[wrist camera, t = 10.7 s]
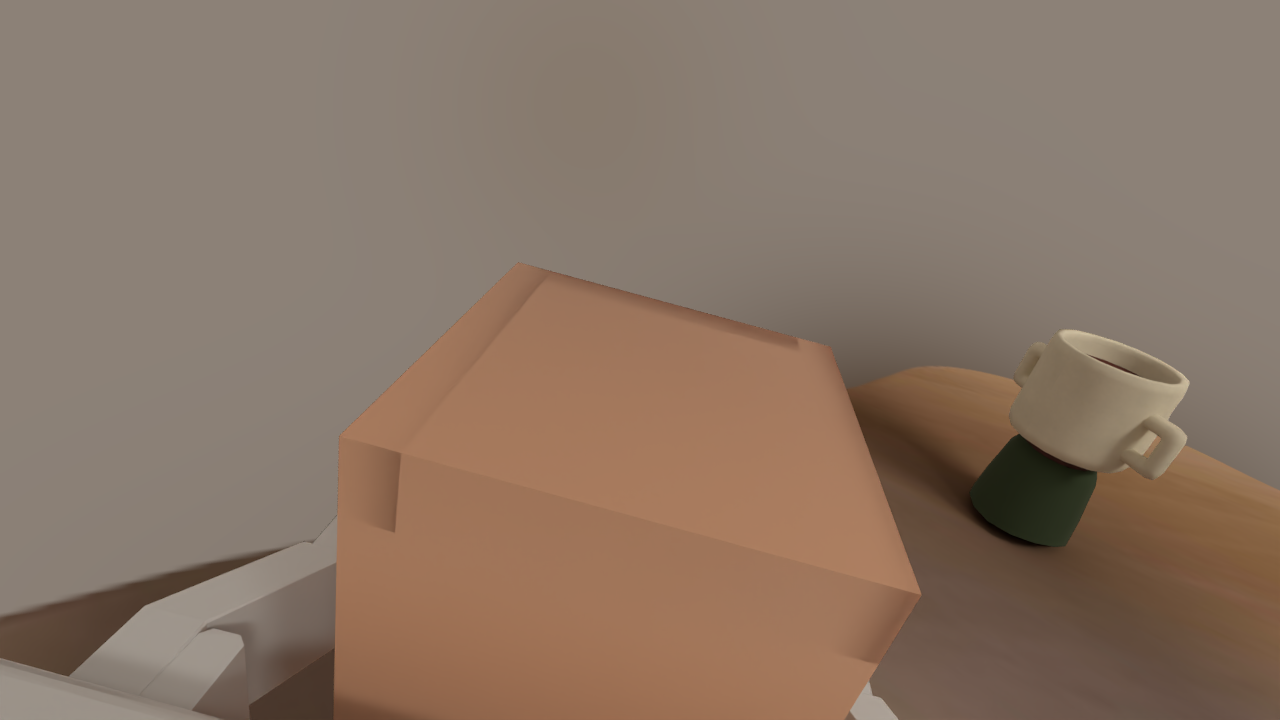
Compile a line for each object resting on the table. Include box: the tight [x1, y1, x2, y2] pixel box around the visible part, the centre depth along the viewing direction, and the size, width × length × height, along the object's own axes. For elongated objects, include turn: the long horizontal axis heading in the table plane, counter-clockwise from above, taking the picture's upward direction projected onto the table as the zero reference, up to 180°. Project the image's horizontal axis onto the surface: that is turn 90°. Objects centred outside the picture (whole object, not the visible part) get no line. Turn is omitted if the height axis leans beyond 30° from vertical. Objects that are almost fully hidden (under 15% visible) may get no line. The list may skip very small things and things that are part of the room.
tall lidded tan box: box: [333, 262, 922, 720], centre depth 11 cm, size 6×6×10 cm
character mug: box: [969, 329, 1189, 547], centre depth 39 cm, size 11×7×13 cm, turn 12°
